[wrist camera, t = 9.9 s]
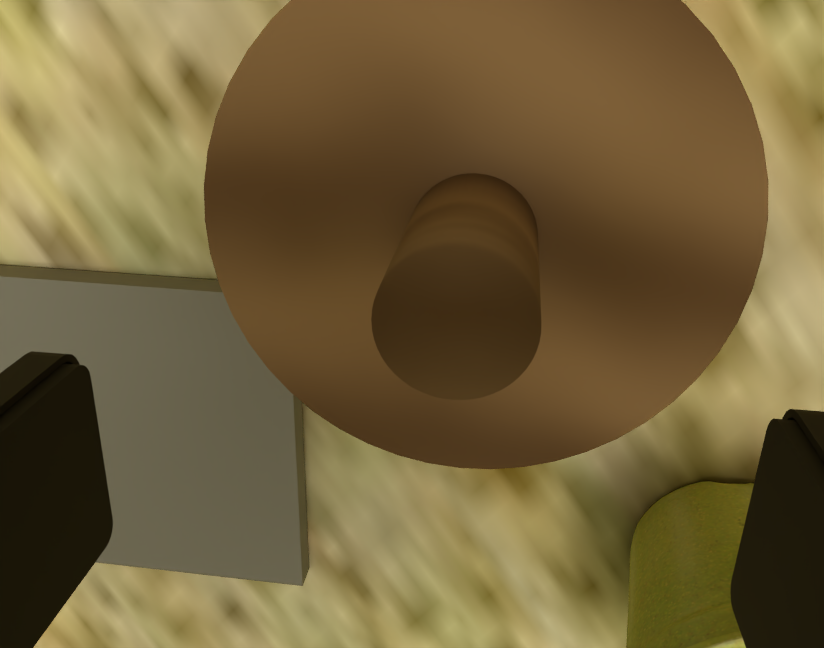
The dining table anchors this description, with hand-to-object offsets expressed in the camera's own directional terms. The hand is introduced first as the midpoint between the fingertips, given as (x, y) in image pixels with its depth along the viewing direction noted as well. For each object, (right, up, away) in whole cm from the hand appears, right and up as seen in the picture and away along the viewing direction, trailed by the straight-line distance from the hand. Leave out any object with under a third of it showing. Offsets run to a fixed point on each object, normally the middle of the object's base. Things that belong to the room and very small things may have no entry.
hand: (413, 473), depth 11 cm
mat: (-10, -2, +18) cm, 21 cm away
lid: (+2, +4, +8) cm, 9 cm away
